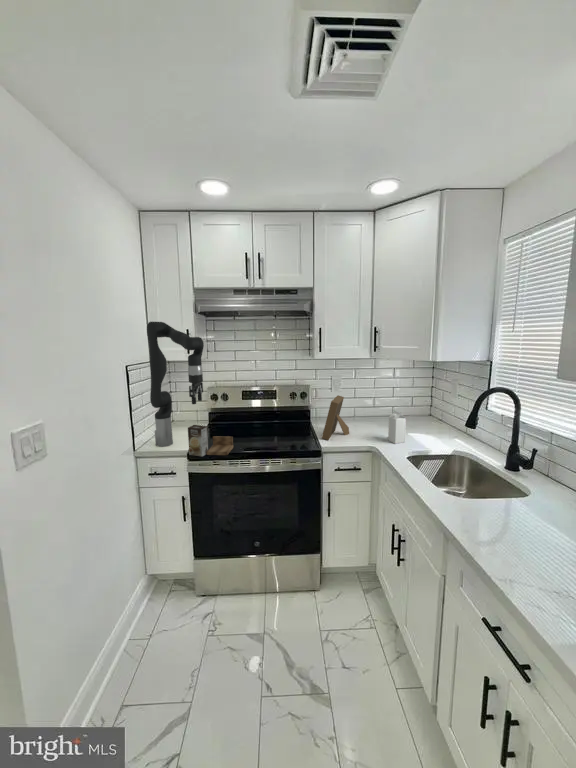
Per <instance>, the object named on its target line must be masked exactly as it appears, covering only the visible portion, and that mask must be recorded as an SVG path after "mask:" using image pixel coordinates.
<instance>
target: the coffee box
mask: <svg viewBox="0 0 576 768" xmlns="http://www.w3.org/2000/svg"><path fill="white" fill-rule="evenodd" d="M187 438H188V440H187V441H188V454H189V456H197V457H204V456H206V455H207V450H208V449H209V442H208V441H209V440H208V439H209V438H208V425H207V426H206V425H199V424H193V425H191V426H189V427H187Z"/></svg>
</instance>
